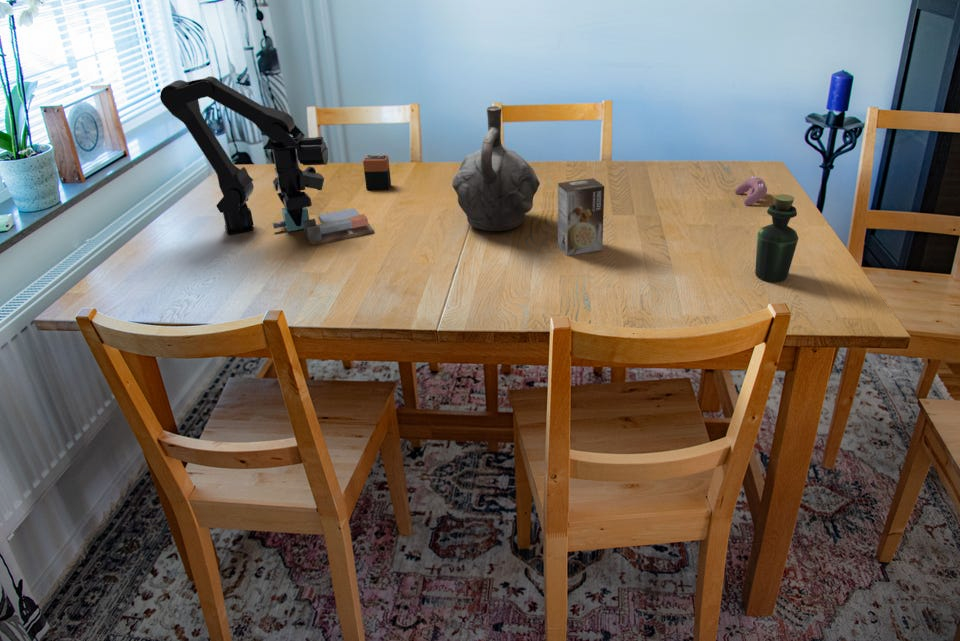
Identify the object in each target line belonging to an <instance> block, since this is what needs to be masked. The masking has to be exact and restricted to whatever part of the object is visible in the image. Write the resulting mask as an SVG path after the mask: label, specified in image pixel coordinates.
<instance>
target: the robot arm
mask: <svg viewBox="0 0 960 641" xmlns="http://www.w3.org/2000/svg"><path fill="white" fill-rule="evenodd" d="M159 98H160V101H161V103H162V105H163V106H164V107H165V108H166V110H168V112H170V113H171V115H172V116H174V118H176V119H177V120H178V121H180V122H182V123H183V124H184V125H185V127H186V128H187V131H188V132H189V133H190V135H191V137H192V139H193V140H194V141H195V143H196V144H197V146H198V147H199V148H200V150H201V152H202V153H203V155H204V156H205V158H206V160H207V161H208V162H209V165H210V166H211V167H212V169H213V170H214V173H216V177H217V181H218V186H219V187H218V188H219V189H220V191H221V193H222V195H223V197H221V199H220V200H219V201H218V203H217V204H216V208H217V209H218V211H219V212H220V213H222V215H223V220H224V224H225V225H224V228H225V230H226V233H227V235H234V234H241V233H244V232H250V231H253V230H254V227H253V226H254V220H253V214H252V210H251V209H250V208H249V207H248V204H247V202H248V201H249V198H250V196H251V195H252V193H253V191H254V188H255V187H254V184H253V181H254V179H253V178H252V177H251V176H250V175H249V173H248V171H247V169H246V167H245V166H243V167H241V168H239V167H237V166H236V165H235V164H234V163H233V162H232V160H231V159H230V157H229V155H228V154H227V152H226V151H225V149H224V147H223V146H222V144H221V143H220V141H219V139H218V138H217V137H216V135H215V134H214V132H213V130H212V129H211V127H210V126H209V124H208V122H207V121H206V119H205V118H204V115H202V112H201V108H200V107H201V106H200V103H199V102H200V101H199V100H200V99H203V98H209V99H211V100H213V101H215V102H216V103H219V104H220V105H222V106H224V107H225V108H227V109H229V110H231V111H232V112H234V113H236V114H238V115H240V116H241V117H243V118H245V119H246V120H248V121H250V122H252V124H254V125H255V126H256V127H257V128H258V130H259V131H260V132H261V133H262V134H264V136H266V137H267V138H269V139H267V142H266V143H265V145H264V146H263V147H262V149H263V150H265V151H266V150H272V156H273V160H274V166H275V168H274V171H275V174H276V177H275V178H274V179H273V181H272V184H273V189H274V191H275V192H278V191H279V192H278V193H277V194H276V195H277V197H278V199H279V200H280V202H281V203H282V204H283V208H286V210H287V211H288V213H289V215H290V216H291V218H292V220H293V221H294V223H295V225H296V226H301V219H302V210H303V208H305V207H306V208H309V207H312V199H311V196H310V195H309V193H307V192H305V191H306V188H308V189H314V190H317V191H323V187H324V182H325V177H324V176H323V174H321V173H319V172H317V171H316V168H315V167H314V166H327V165H328V162H329V148H328V147H327V144H326V142H325V140H324V136H316V137H306V135H305V134H304V133H303V131H302V130H301V129H300V128H299V127H298V126H297V125H296V123H295V121H294V120H295V119H294V117H293V116H292V115H290V114H289V113H288V112H285V111H282V110H280V109H277V108H273V107H268V106H265V105H262V104H260V103H258V102H256V101H254V100H253V99H251V98H249V97H247V95H245V94H242V93H241V92H239V91H237V90H236V89H234V88H232V87H231V86H229V85H227V84H226V83H223V82H221V81H220V80H219V79H218V78H216V77H215V76H207V77H204V78H201V79H200V78H199V79H194V80H191V81H185V80H182V79H178V80H175V81H173V82H171V83H169V84H168V85H166V86H164V87H163V88H162V89H161V91H160V96H159ZM170 113H169V114H170ZM299 164H302V165H303V166H307V168H306V169H305V170H302V169H301V168H300V165H299Z"/></svg>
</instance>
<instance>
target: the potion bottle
mask: <svg viewBox="0 0 960 641" xmlns="http://www.w3.org/2000/svg"><path fill="white" fill-rule="evenodd" d="M794 201H795V196H793V195H790V194H786V193H785V194H783V193H780V194H776V195H774V203H773V204H770V205H769V207H768V209H767V211H766V212H767V214H768V215H769V216H770V217H771V221H772V223H770V224H767V225H765V226H762V227H761V229H760V230H758V232H757V239H756V256H755V268H754V269H755V271H754V273H755V276H756V277H757V278H758V279H760V280H761V281H764V282H769V283H780V282H783V281H785V280H787V278H788V276H789V273H790V269H791V266H792V261H793V259H794V254H795V252H796V249H797V245H798V241H799V235H798V233H797V231H796V230H795V229H794V228H792V227H790V226H789V222H790V221H791V219H793V218H795V217H797V215H798V212H797V208H796V207H795V206H794V205H793V203H794Z"/></svg>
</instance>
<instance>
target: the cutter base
mask: <svg viewBox="0 0 960 641" xmlns="http://www.w3.org/2000/svg"><path fill="white" fill-rule="evenodd" d="M313 225H317V226H313ZM303 226H304V229H303V231H304V235H305V237H306V236H307V239H308V242H309V244H311V245H312V246H315V245H319V244H320V245H321V244H325V243H330V242H334V241H335V242H336V241H340V240H346V239H350V238H354V237H360V236H365V235H370V234H375V229H374V228H373V227H372V226H371V225H370V223H369V222H368V225H365V226H360V227H356V228H353V227H352V228H348V229H343V230H339V231H334V232H329V233H325V234H321V231H320V226H319V225H318V224H317V222H316V218H311V219H310V218H309V220H305V221H303ZM311 226H312V227H311Z"/></svg>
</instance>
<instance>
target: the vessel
mask: <svg viewBox="0 0 960 641" xmlns="http://www.w3.org/2000/svg"><path fill="white" fill-rule="evenodd" d="M486 116H487V130H488V131H487V133H486V134H485V136H484V138H483V142H482V146H481V148H480V149H478V150H476V151H475V152H473V153H469V154H467V155H466V156H465V157H464V158H463V160H462V161H461V164H460V167H459V169H458V171H457V172H456V174H455V175H454V176H453V179H452V182H451V187H452V188H453V189H454V191H455V193H456V194H457V195H456V196H457V203H458V205H459V207H460V208H461V210H462V212H464V214H465V215H466V220H467V222H468V224H469V225H470V226H471V227H473V228H476V229H480V230H482V231H488V232H490V231H491V232H503V231H509V230H512V229H515V228H517V227H519V226H521V225H522V224H523V223H524V221H525V219H526V214H528V213H529V212H531V210H532V209H533V206H534V203H533V202H534V198H535V197H534V196H535V194H536V193H537V191H538V189H539V187H540V184H541V183H540V180H539V179H538V177H537V174H536V172H535V170H534V169H533V167H532V166H531V165H530V164H529V163H528V162H527V160H525V159H524V157H522V156H521V155H519V154H518V153H517V151H514V150H512V149H509V148H507V147H503V144H502V137H501V136H502V134H501V133H502V131H501V130H502V107H501V106H498V105H493V106H492V105H490V106H488V107H487V108H486Z"/></svg>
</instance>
